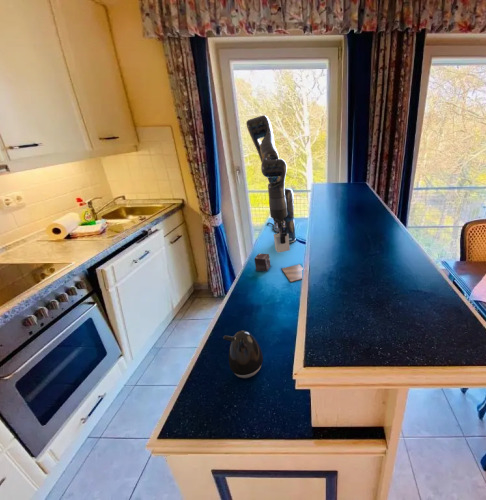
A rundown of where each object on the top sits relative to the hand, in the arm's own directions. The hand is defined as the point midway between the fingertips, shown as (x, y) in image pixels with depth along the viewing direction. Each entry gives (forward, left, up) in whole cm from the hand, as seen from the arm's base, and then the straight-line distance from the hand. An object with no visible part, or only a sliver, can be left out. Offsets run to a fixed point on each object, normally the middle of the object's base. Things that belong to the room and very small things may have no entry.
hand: (281, 241), depth 131 cm
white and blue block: (0, 0, -4) cm, 4 cm away
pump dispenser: (+49, -29, -19) cm, 60 cm away
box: (-12, -8, -19) cm, 24 cm away
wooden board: (0, +5, -19) cm, 19 cm away
